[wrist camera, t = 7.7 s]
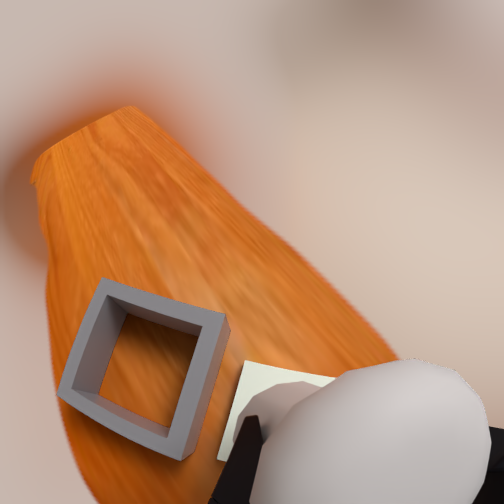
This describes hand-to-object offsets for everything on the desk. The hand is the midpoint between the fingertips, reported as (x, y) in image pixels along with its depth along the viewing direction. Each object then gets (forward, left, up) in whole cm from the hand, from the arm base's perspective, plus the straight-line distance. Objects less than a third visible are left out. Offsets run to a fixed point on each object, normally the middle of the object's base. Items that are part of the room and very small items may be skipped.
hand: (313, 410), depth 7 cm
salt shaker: (-1, 0, -7) cm, 7 cm away
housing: (0, +10, -12) cm, 16 cm away
